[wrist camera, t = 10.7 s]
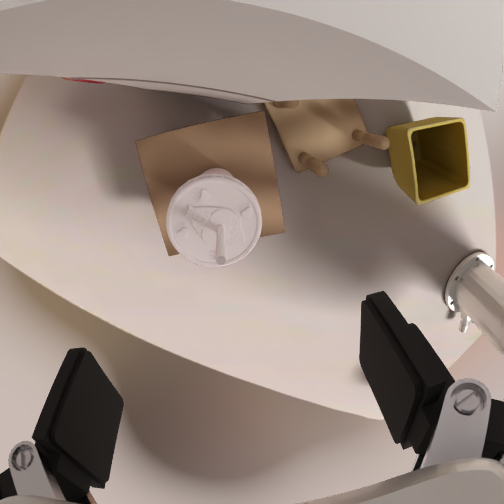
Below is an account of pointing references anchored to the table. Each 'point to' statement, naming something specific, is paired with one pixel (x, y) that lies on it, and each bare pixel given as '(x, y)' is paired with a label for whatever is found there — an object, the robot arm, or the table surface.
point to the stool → (213, 164)
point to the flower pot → (430, 157)
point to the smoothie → (214, 219)
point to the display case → (266, 47)
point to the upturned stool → (320, 131)
